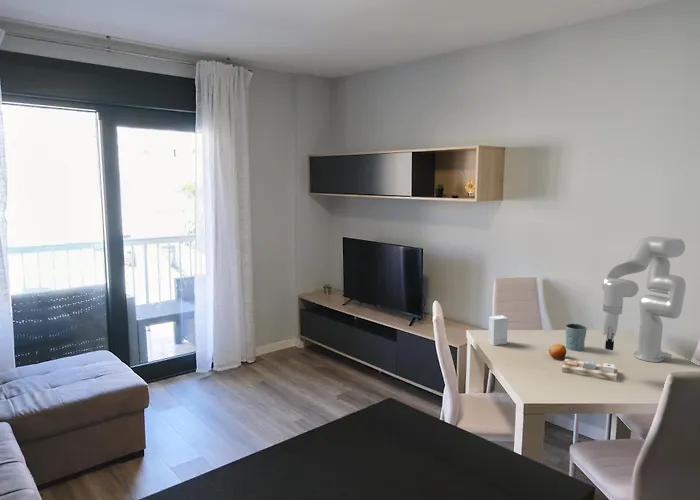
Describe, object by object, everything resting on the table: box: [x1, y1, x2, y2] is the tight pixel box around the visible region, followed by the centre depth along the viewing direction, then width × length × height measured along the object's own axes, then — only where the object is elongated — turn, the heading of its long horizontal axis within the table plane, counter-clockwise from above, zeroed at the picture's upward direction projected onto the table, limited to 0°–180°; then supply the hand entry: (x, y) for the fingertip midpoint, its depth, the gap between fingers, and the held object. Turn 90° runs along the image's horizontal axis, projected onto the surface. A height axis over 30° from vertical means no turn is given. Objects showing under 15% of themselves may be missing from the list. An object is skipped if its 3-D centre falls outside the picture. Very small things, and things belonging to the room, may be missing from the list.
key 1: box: [602, 362, 616, 373], centre depth 219 cm, size 5×5×3 cm
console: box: [561, 358, 618, 382], centre depth 223 cm, size 22×12×2 cm, turn 59°
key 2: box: [583, 359, 597, 370], centre depth 223 cm, size 5×5×3 cm
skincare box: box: [488, 314, 509, 346], centre depth 262 cm, size 8×6×15 cm
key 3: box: [566, 360, 578, 367], centre depth 227 cm, size 5×5×3 cm
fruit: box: [548, 343, 567, 360], centre depth 241 cm, size 8×8×8 cm
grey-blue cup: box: [565, 322, 588, 352], centre depth 254 cm, size 10×10×12 cm
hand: (609, 349), depth 218 cm, fingers closed
